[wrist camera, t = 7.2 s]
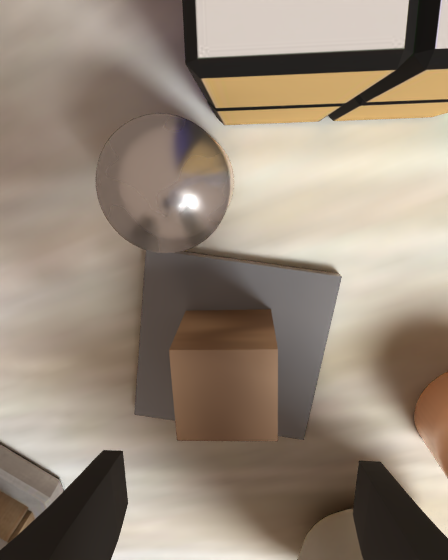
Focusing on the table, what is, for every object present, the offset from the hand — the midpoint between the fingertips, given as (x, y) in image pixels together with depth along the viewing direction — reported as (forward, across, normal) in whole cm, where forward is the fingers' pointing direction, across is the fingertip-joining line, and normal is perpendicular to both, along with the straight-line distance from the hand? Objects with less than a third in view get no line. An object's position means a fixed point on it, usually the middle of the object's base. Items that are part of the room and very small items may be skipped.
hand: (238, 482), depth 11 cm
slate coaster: (+10, +1, 0) cm, 10 cm away
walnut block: (+9, +1, 0) cm, 9 cm away
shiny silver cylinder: (+10, +3, -8) cm, 13 cm away
